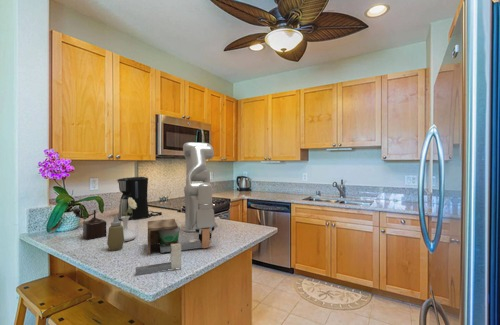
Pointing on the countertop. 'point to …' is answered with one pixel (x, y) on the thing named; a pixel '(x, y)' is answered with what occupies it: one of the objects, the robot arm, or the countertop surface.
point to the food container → (169, 236)
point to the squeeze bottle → (115, 235)
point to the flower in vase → (127, 233)
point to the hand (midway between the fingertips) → (204, 239)
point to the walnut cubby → (158, 225)
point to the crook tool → (203, 244)
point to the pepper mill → (92, 226)
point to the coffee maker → (134, 197)
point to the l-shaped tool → (164, 266)
